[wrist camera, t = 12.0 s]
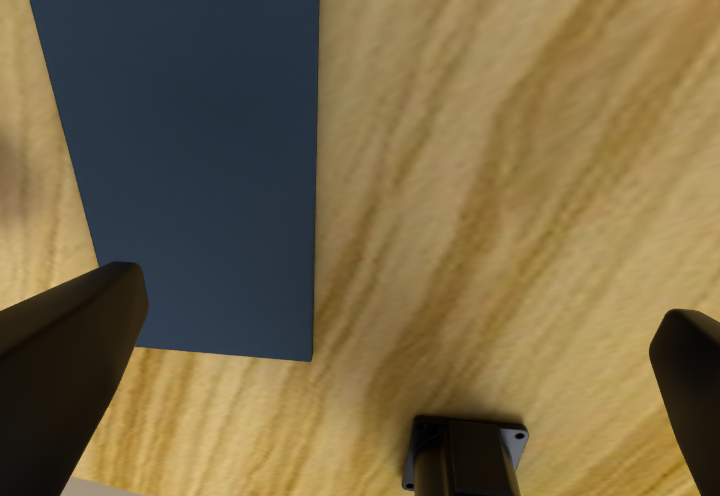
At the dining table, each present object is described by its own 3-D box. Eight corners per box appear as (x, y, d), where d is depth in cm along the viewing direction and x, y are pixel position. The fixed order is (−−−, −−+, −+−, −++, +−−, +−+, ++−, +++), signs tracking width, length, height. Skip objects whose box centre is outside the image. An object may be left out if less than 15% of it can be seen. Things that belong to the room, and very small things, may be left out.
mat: (312, 354, 25) (311, 362, 25) (124, 338, 26) (119, 345, 25) (320, -46, 16) (318, -46, 15) (22, -69, 16) (10, -69, 16)
